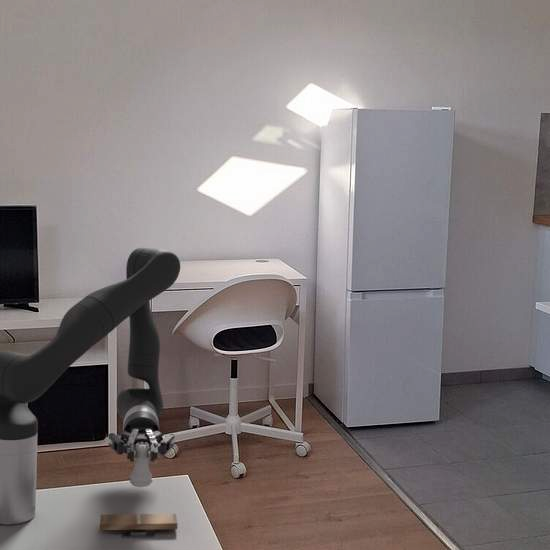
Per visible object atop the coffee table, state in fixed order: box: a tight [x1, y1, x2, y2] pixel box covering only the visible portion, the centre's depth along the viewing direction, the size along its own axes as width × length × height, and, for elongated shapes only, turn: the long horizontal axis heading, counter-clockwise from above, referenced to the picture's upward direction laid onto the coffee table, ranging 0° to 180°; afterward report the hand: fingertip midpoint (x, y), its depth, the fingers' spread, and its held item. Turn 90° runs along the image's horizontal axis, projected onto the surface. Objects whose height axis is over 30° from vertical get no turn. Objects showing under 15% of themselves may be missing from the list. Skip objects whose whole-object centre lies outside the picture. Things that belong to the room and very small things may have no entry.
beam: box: [98, 513, 178, 531], centre depth 166 cm, size 15×4×1 cm, turn 100°
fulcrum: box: [122, 529, 155, 538], centre depth 166 cm, size 6×7×1 cm
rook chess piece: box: [129, 442, 153, 488], centre depth 165 cm, size 4×4×8 cm
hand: (142, 456), depth 161 cm, fingers closed on rook chess piece, 3 cm apart
